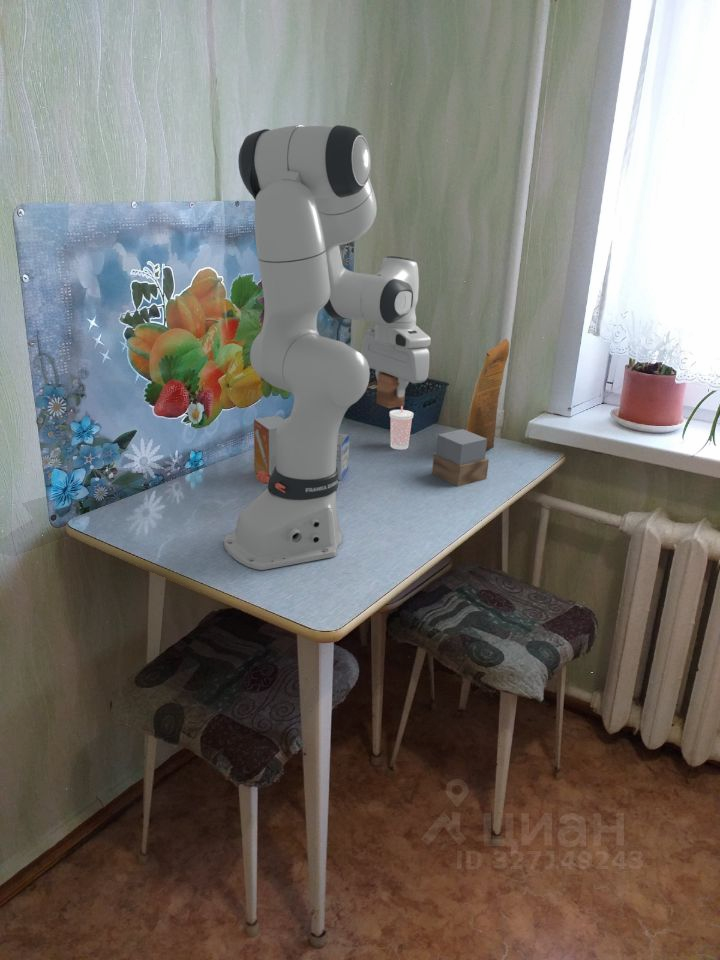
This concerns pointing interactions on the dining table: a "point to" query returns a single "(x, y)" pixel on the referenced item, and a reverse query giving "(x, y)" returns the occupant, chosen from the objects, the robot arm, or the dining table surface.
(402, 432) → the beverage cup
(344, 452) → the medicine box
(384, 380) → the cherry block
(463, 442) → the tower top
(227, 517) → the dining table surface
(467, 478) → the tower base
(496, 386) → the pancake mix bag
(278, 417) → the small box
